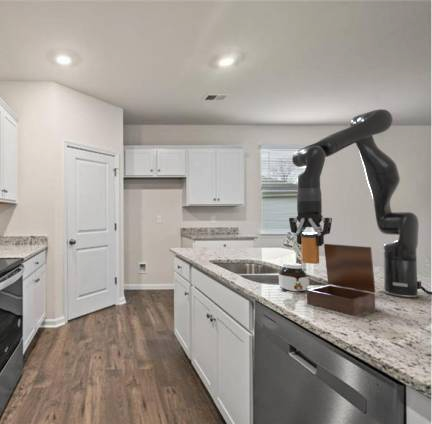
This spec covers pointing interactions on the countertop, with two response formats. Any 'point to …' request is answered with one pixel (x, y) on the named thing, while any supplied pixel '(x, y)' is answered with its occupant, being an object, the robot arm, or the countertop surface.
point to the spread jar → (293, 278)
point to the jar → (309, 248)
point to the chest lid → (350, 266)
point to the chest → (341, 299)
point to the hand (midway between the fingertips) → (309, 244)
